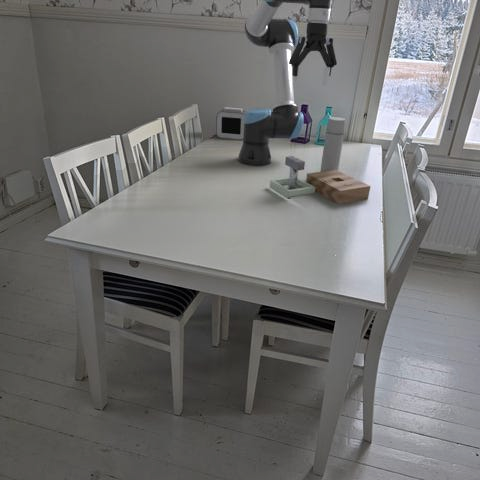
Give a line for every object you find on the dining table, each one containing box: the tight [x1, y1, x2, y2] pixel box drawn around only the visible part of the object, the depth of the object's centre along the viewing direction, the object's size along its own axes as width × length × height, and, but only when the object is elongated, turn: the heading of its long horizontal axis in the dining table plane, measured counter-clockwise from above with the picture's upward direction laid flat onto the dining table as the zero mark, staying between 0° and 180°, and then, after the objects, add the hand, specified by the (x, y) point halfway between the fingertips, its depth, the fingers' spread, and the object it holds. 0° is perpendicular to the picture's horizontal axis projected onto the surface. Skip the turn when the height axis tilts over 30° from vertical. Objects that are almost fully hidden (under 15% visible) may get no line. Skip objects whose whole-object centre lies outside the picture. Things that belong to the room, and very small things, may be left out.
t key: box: [284, 155, 306, 190], centre depth 158 cm, size 3×8×12 cm, turn 29°
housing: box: [305, 170, 371, 205], centre depth 158 cm, size 20×14×6 cm
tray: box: [269, 176, 316, 200], centre depth 160 cm, size 13×12×3 cm
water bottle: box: [319, 116, 347, 172], centre depth 170 cm, size 9×8×25 cm
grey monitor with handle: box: [215, 106, 247, 141], centre depth 231 cm, size 16×11×16 cm
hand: (310, 85), depth 158 cm, fingers open, 13 cm apart
